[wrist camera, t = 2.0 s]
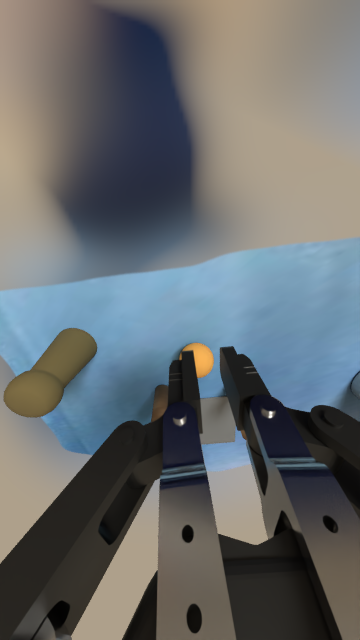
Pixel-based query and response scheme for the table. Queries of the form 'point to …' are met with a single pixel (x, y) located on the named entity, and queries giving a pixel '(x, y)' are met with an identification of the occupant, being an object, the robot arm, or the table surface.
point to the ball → (201, 358)
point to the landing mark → (217, 421)
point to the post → (160, 402)
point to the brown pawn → (50, 374)
